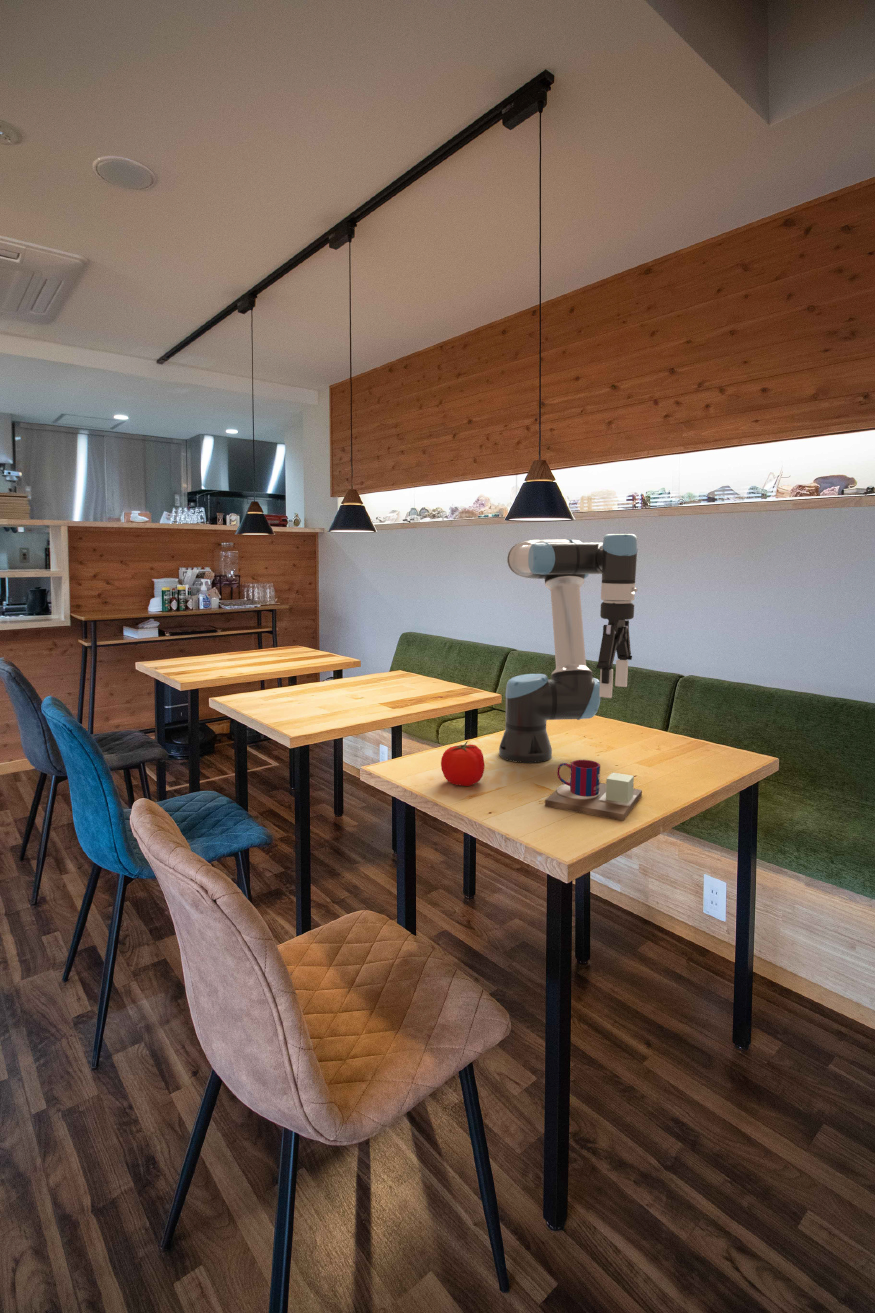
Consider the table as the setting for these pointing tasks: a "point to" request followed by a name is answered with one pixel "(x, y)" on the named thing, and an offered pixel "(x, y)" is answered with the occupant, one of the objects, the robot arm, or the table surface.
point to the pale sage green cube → (619, 787)
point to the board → (592, 802)
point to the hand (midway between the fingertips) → (613, 691)
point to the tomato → (463, 764)
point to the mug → (583, 777)
